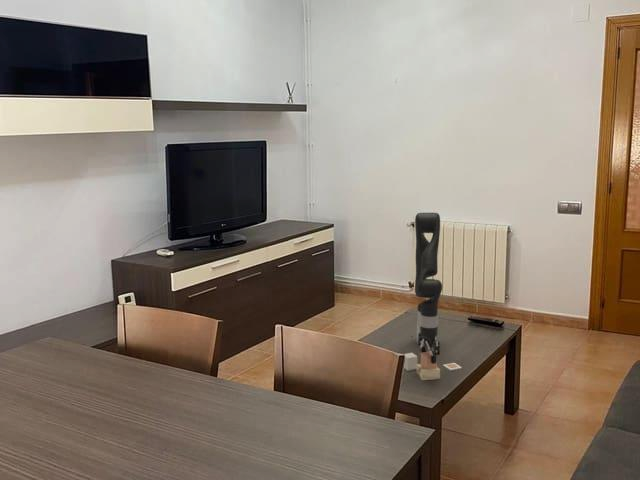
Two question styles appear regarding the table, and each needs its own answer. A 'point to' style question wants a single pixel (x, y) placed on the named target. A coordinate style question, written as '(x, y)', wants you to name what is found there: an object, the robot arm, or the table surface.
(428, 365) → the terracotta block
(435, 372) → the birch base block
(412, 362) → the grey block
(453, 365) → the card
